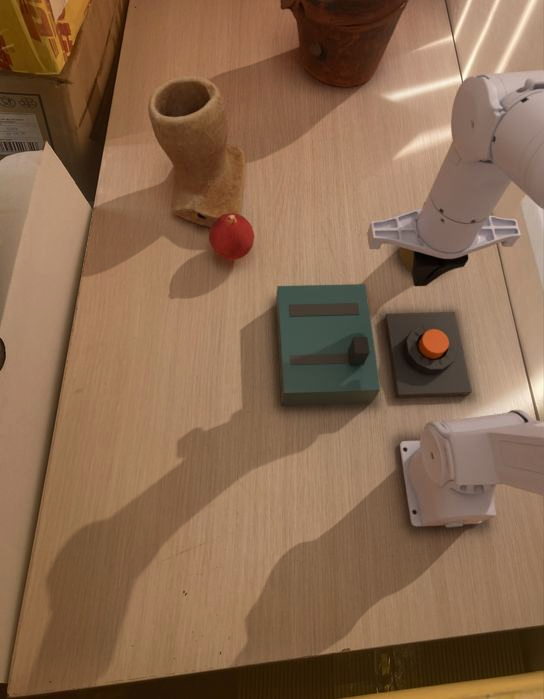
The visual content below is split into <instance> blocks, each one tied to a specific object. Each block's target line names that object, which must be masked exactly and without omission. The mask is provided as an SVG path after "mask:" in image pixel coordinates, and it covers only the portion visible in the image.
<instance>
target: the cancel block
mask: <svg viewBox="0 0 544 699" xmlns="http://www.w3.org/2000/svg"><path fill="white" fill-rule="evenodd" d="M383 321H384V327H385V333H386V340H387V341H386V342H387V347H388V353H389V360H390V367H391V374H392V380H393V387H394V394H395V398H396V399H404V398H405V399H407V398H431V397H433V398H434V397H435V398H437V397H463V396H464V397H465V396H466V397H467V396H470V394H472V387H471V383H470V377H469V372H468V367H467V363H466V359H465V354H464V349H463V345H462V340H461V335H460V330H459V326H458V321H457V316H456V312H455V311H447V312H446V311H444V312H442V311H441V312H407V313H406V312H404V313H386V314H385V315H384V317H383ZM431 329H437V330H440V331H442V332H443V333H444V334H445V335H446V336H447V337H448V340H449V346H448V348H447V350H446V351H445V352H444V353H443V355H442V356H441V357H439V358H436V359H430V358H427V357H425V356H424V355H423V354H422V353H421V352H420V350H419V347H418V344H419V341H420V339H421V337H422V336H423V335H424V333H425V332H426V331H428V330H431Z"/></svg>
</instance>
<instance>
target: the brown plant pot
mask: <svg viewBox="0 0 544 699" xmlns="http://www.w3.org/2000/svg"><path fill="white" fill-rule="evenodd" d="M279 1H280V2H279V3H280V9H281V10H283V11H285V10H289V11H290V12H291V13H292V16H293V17H294V19H295V22H296V29H297V38H298V44H299V52H300V54H299V55H300V62H301V63H302V65H303V67H304V69H305V70H306V71H307V72H308V73H309V74H310V75H311V76H312V77H313V78H315V79H316V80H319V81H320V82H322V83H325V84H328V85H331V86H335V87H345V88H346V87H353V86H358V85H361V84H363V83H365V82H368V81H369V80H370V79H371V78H372V77H373V76H374V74H375V73H376V71H377V70H378V67H379V66H380V63H381V61H382V59H383V57H384V54H385V52H386V50H387V48H388V45H389V43H390V41H391V39H392V36H393V34H394V32H395V30H396V28H397V25H398V24H399V21H400V19H401V17H402V14H403V12H404V11H405V10H406V8H407V6H408V3H409V0H279Z"/></svg>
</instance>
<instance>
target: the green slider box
mask: <svg viewBox="0 0 544 699" xmlns="http://www.w3.org/2000/svg"><path fill="white" fill-rule="evenodd" d="M275 298H276V299H275V314H276V331H277V347H278V348H277V349H278V365H279V384H280V400H281V406H284V407H285V406H286V407H287V406H313V405H340V404H341V405H342V404H343V405H344V404H370V403H373V402H374V400H375V399H376V397H377V396H378V394H379V392H380V391H381V386H380V378H379V370H378V364H377V357H376V350H375V342H374V334H373V328H372V319H371V314H370V305H369V298H368V290H367V284H366V283H357V284H355V283H353V284H352V283H351V284H318V285H317V284H309V285H307V284H306V285H304V284H303V285H277V286H276V296H275ZM353 337H368V345H369V352H370V353H369V355H368V357H367V359H366V361H365V363H364V365H350V362H349V353H348V349H349V347H350V344H351V342H352V339H353Z"/></svg>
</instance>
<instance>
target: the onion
mask: <svg viewBox="0 0 544 699" xmlns="http://www.w3.org/2000/svg"><path fill="white" fill-rule="evenodd" d="M208 240H209V243H210V246H211V248H212V250H213V251H214V252H215V253H216V254H217V256H219V257H221V258H223V259H225V260H228V261H237V260H240V259H242V258H243V257H246V256H247V255H248V254H249V252H250V251H251V250H252V249H253V246H254V241H255V232H254V229H253V226H252V224H251V223H250V221H248V219H246V217H244V215H242V214H240V215H239V214H235V213H227V214H223V215H222V216H220V217H218V218H217V219H216V220H215V221H214V223H213V224H212V226H211V227H209V235H208Z"/></svg>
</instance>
